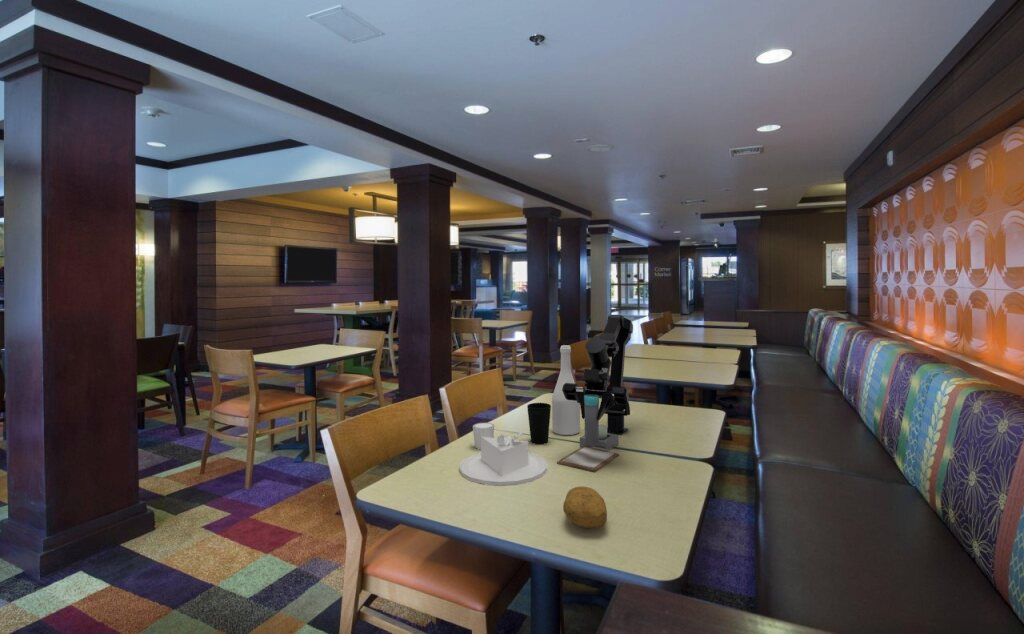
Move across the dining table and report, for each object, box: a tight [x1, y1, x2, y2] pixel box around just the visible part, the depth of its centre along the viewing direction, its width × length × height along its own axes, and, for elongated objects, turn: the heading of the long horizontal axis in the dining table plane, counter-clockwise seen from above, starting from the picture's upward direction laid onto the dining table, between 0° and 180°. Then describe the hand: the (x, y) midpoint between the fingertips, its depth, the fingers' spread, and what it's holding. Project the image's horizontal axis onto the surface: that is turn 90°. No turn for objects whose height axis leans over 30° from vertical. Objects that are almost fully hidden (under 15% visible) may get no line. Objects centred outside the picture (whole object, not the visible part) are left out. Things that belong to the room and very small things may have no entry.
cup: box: [526, 402, 552, 445], centre depth 168 cm, size 8×8×12 cm
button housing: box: [579, 432, 619, 451], centre depth 163 cm, size 9×9×3 cm
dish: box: [458, 432, 548, 487], centre depth 145 cm, size 25×25×11 cm
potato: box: [562, 485, 608, 529], centre depth 113 cm, size 9×13×7 cm
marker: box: [584, 394, 600, 445], centre depth 146 cm, size 4×4×14 cm
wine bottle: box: [551, 344, 581, 436], centre depth 177 cm, size 10×10×30 cm
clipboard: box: [556, 446, 620, 473], centre depth 151 cm, size 16×12×1 cm
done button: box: [599, 424, 608, 440], centre depth 163 cm, size 5×5×4 cm
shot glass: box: [472, 422, 495, 450], centre depth 164 cm, size 7×7×7 cm
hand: (590, 419), depth 145 cm, fingers closed on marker, 4 cm apart
